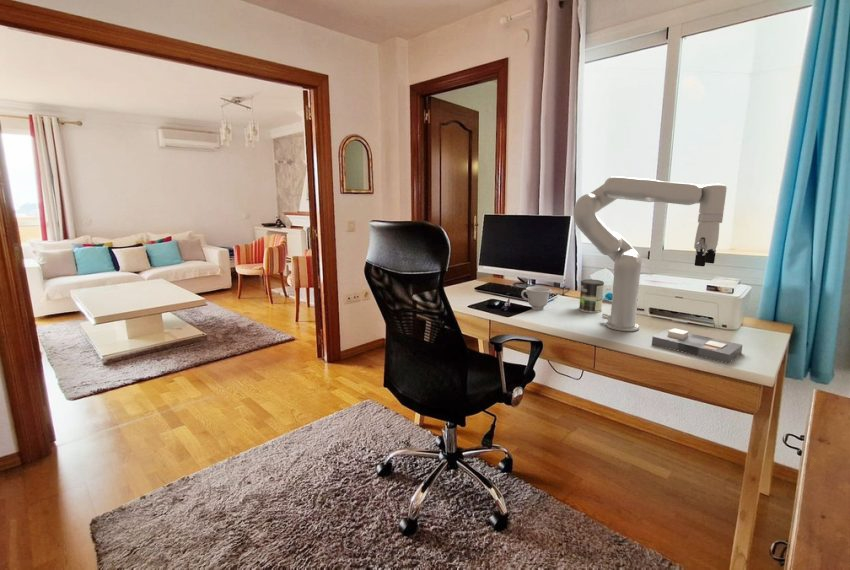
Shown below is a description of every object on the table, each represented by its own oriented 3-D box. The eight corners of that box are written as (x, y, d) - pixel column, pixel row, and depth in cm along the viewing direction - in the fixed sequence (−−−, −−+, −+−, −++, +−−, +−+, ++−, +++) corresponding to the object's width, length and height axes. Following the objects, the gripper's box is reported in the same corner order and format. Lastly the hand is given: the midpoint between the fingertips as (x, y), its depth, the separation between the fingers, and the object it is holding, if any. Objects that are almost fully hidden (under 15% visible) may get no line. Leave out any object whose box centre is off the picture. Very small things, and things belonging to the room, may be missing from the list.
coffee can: (584, 313, 197) (586, 283, 194) (575, 307, 208) (577, 279, 205) (605, 312, 198) (608, 283, 195) (596, 306, 208) (598, 279, 205)
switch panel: (651, 344, 156) (652, 336, 155) (667, 336, 164) (668, 328, 164) (728, 363, 137) (729, 354, 137) (741, 352, 146) (742, 344, 145)
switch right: (703, 351, 146) (704, 343, 146) (708, 348, 150) (710, 340, 149) (720, 355, 143) (721, 347, 142) (725, 352, 146) (726, 344, 145)
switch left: (667, 338, 155) (668, 331, 155) (673, 335, 158) (673, 328, 158) (682, 341, 151) (683, 334, 151) (687, 338, 155) (688, 331, 154)
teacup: (515, 306, 210) (516, 287, 208) (542, 304, 213) (543, 285, 211) (526, 313, 199) (527, 292, 197) (555, 310, 202) (556, 290, 200)
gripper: (707, 217, 162) (701, 261, 166) (689, 219, 152) (684, 266, 155) (730, 217, 157) (723, 263, 160) (713, 220, 146) (707, 268, 150)
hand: (704, 264), depth 158 cm, fingers open, 9 cm apart
